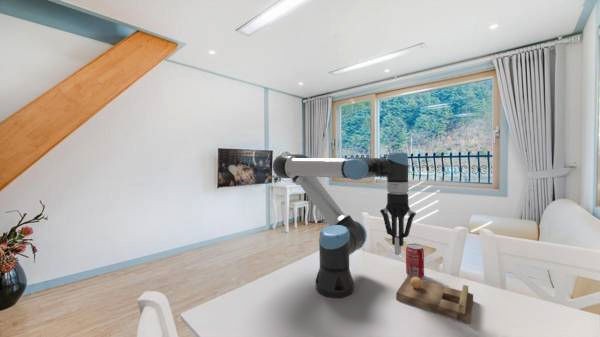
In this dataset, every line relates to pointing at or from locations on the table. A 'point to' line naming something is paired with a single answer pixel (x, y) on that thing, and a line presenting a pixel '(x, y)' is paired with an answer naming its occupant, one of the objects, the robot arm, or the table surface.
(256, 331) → the table surface
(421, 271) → the soda can
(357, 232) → the robot arm
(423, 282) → the wooden board
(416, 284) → the ball
